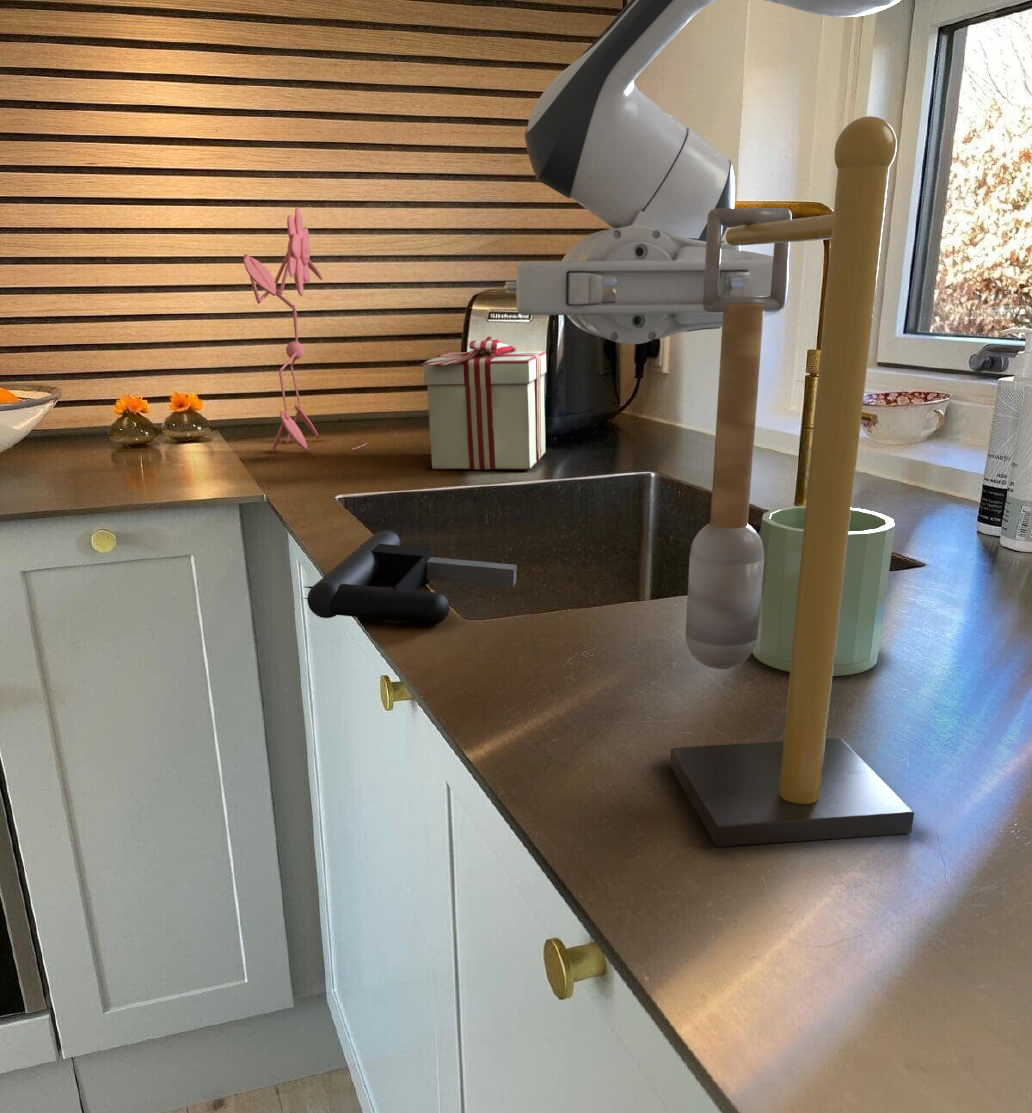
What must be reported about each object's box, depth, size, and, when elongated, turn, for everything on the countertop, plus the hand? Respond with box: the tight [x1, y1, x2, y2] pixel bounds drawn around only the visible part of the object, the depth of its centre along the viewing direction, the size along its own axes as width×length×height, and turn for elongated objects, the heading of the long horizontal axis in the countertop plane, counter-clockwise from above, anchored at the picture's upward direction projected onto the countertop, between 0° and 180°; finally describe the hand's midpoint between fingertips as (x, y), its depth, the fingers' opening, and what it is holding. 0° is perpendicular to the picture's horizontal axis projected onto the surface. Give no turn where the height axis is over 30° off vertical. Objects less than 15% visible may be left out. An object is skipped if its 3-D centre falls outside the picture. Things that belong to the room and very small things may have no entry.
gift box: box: [419, 336, 547, 471], centre depth 149 cm, size 17×18×17 cm
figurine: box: [242, 206, 368, 457], centre depth 161 cm, size 15×26×35 cm, turn 178°
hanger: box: [669, 115, 915, 848], centre depth 54 cm, size 10×19×32 cm, turn 7°
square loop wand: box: [685, 207, 793, 670], centre depth 61 cm, size 5×4×26 cm
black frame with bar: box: [303, 529, 518, 625], centre depth 91 cm, size 3×20×16 cm
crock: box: [751, 505, 896, 677], centre depth 74 cm, size 9×9×10 cm
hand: (673, 288), depth 71 cm, fingers open, 8 cm apart
